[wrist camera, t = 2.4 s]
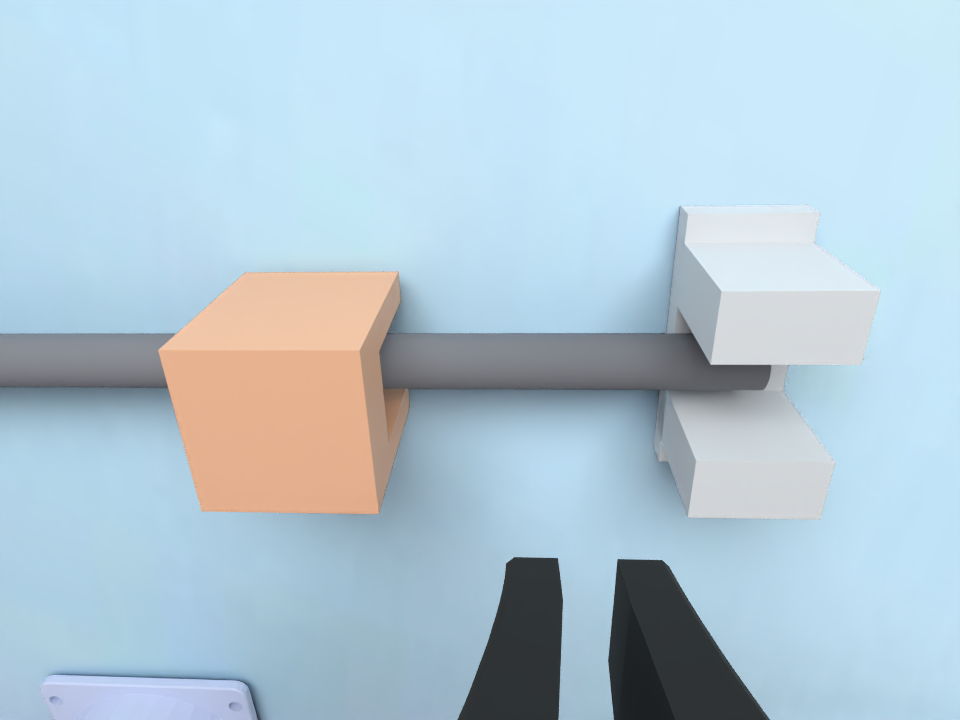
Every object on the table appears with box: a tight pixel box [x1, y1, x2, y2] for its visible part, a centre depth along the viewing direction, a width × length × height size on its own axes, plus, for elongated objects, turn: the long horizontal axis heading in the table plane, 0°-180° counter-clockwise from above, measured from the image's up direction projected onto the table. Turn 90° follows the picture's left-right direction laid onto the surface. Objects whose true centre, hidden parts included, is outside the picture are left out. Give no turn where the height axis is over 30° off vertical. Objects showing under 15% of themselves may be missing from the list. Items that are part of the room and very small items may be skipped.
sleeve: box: [158, 272, 410, 514], centre depth 16 cm, size 4×4×5 cm
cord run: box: [0, 205, 881, 520], centre depth 17 cm, size 36×7×4 cm, turn 91°
